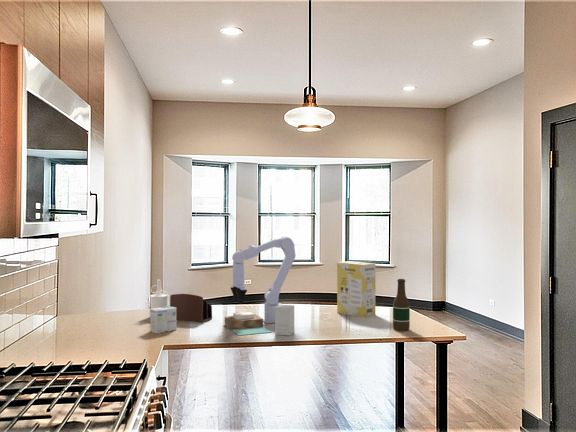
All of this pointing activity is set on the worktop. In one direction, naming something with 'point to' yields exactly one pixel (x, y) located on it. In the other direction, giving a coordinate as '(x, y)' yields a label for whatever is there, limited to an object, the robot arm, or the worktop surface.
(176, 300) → the letter holder
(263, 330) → the mat
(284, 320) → the supplement box
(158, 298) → the white necked piece
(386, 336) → the worktop surface
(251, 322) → the board
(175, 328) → the light bulb box
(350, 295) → the pasta box
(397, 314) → the beer bottle
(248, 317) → the cream white block
